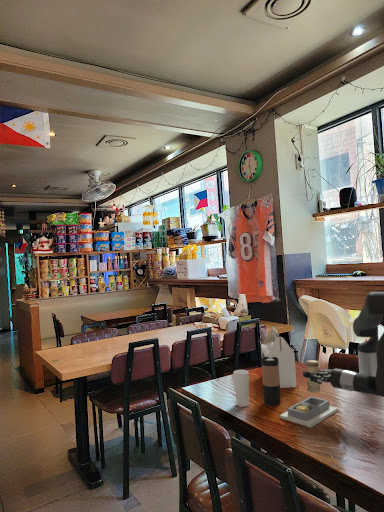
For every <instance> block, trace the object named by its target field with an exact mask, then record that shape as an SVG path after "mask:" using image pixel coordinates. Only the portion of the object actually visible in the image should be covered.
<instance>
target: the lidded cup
mask: <svg viewBox="0 0 384 512" xmlns="http://www.w3.org/2000/svg"><path fill="white" fill-rule="evenodd" d="M305 366H306V367H305V369H306V372H310V373H317V372H319V369H320V367H319V361H318V360H313V359H310V360H306V361H305ZM306 382H307V383H306V384H307V392H309V393H319V392H321V384H319V383H316V382H313V381H310V378H306Z"/></svg>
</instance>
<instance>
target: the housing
mask: <svg viewBox="0 0 384 512" xmlns="http://www.w3.org/2000/svg"><path fill="white" fill-rule="evenodd" d="M338 411H339V408H338V407H335V406H332V405H330V400H326V399H323V398H318V397H315V396H309V397H307V398H304V399H303V400H301V401H300V402H297V403H296V404H293V405H291V406H290V407H287V410H286V411H285V412H283V413H281V414H280V415H279V418H280V419H283V420H285V421H287V422H288V421H289V422H292V423H295V424H298V425H301V426H304V427H308V428H313V427H314V426H316V425H317V424H319V423H321V422H322V421H324V420H326V419H327V418H329V417H330V416H332V415H333V414H335V413H337V412H338Z"/></svg>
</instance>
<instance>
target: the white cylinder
mask: <svg viewBox="0 0 384 512" xmlns="http://www.w3.org/2000/svg"><path fill="white" fill-rule="evenodd" d="M233 385H234V391H235V398H236V405H237V407H240V408H245V407H248V406H249V404H250V401H249V399H250V397H249V395H250V393H249V391H250V388H249V387H250V375H249V370H246V369H237V370H234V371H233Z"/></svg>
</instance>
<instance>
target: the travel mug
mask: <svg viewBox="0 0 384 512" xmlns="http://www.w3.org/2000/svg"><path fill="white" fill-rule="evenodd" d="M261 379H262V391H263V400H264V402H263V403H264V404H265V405H267V406H269V407H276V406H280V405H281V403H282V402H281V399H282V398H281V388H280V376H279V362H278V358H277V357H273V358H269V357H263V358H262V357H261Z"/></svg>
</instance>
